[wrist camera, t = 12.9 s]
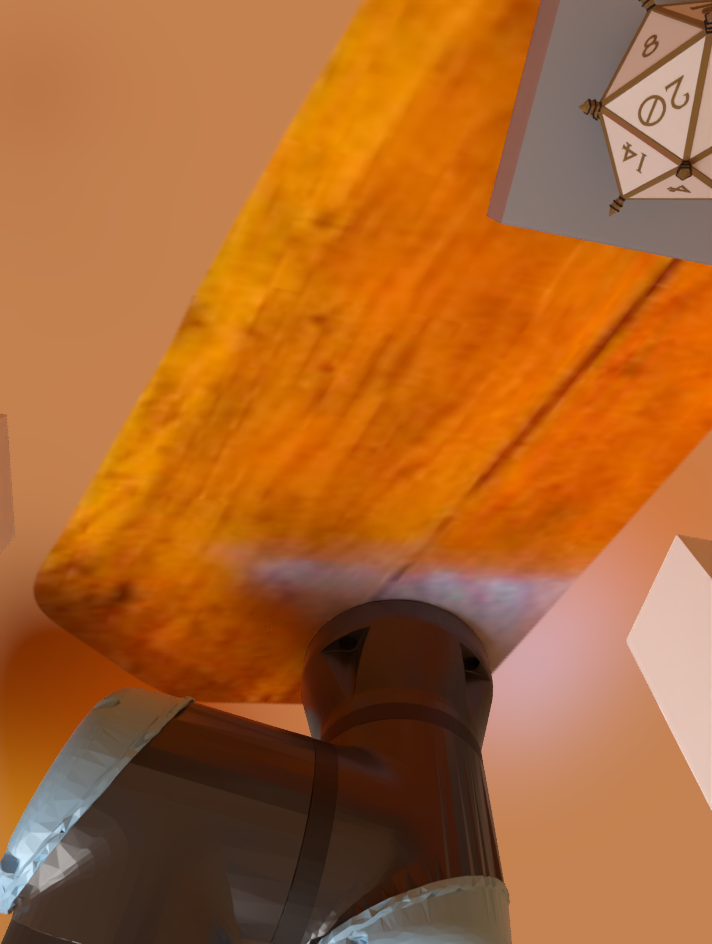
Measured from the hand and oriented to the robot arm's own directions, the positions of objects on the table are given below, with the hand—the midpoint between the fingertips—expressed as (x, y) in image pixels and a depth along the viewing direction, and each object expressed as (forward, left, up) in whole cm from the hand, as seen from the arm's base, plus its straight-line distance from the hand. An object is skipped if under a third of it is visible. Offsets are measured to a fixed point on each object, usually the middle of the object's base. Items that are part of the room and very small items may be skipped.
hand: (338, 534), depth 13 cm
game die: (+11, -12, -24) cm, 29 cm away
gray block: (+11, -12, -29) cm, 33 cm away
